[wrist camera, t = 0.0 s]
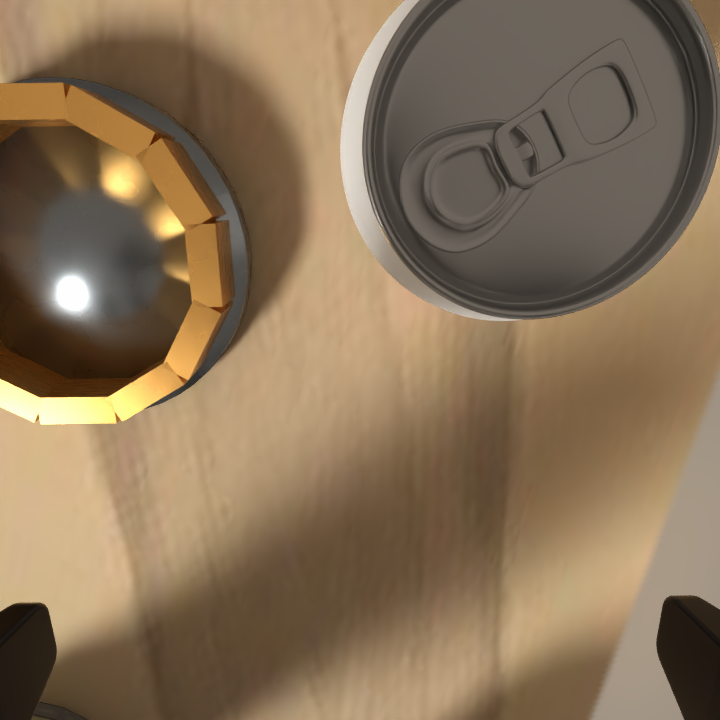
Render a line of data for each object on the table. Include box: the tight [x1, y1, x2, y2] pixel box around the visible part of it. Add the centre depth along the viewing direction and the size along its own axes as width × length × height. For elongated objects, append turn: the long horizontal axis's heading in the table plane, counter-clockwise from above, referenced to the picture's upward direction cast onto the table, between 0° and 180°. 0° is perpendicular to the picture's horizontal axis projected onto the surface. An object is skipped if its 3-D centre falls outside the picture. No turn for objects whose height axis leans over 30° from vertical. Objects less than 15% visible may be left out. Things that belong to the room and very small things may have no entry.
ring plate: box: [0, 77, 251, 424], centre depth 20 cm, size 12×12×3 cm
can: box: [340, 0, 720, 321], centre depth 14 cm, size 6×6×12 cm
